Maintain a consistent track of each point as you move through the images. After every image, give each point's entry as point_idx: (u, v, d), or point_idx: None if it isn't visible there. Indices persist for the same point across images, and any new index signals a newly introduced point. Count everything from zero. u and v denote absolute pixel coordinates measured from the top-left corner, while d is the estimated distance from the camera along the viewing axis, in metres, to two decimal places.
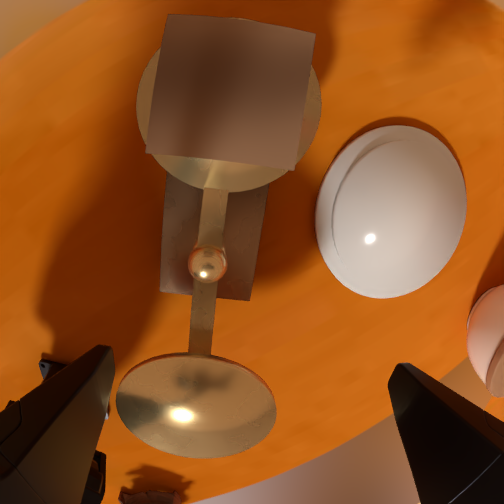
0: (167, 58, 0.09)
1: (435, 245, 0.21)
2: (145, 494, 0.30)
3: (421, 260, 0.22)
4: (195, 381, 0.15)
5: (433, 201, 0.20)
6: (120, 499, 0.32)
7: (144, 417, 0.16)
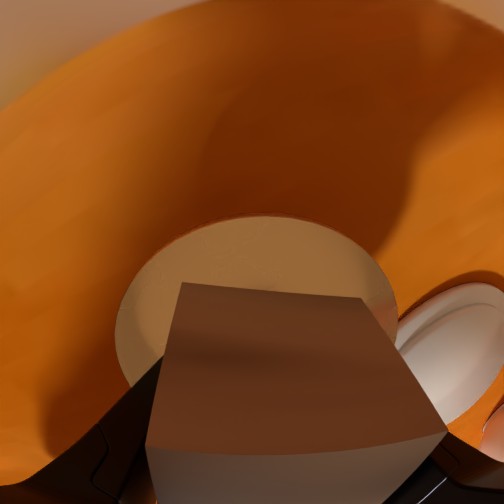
0: (171, 494, 0.04)
1: (470, 394, 0.17)
2: None
3: (453, 409, 0.17)
4: None
5: (480, 360, 0.15)
6: None
7: None
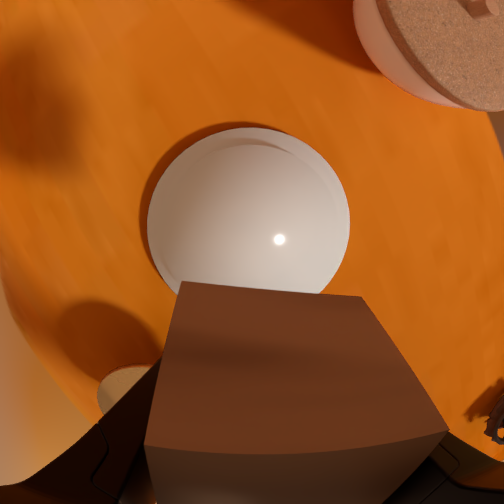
0: (170, 494, 0.04)
1: (285, 187, 0.18)
2: (490, 419, 0.30)
3: (304, 206, 0.19)
4: None
5: (227, 201, 0.18)
6: None
7: None
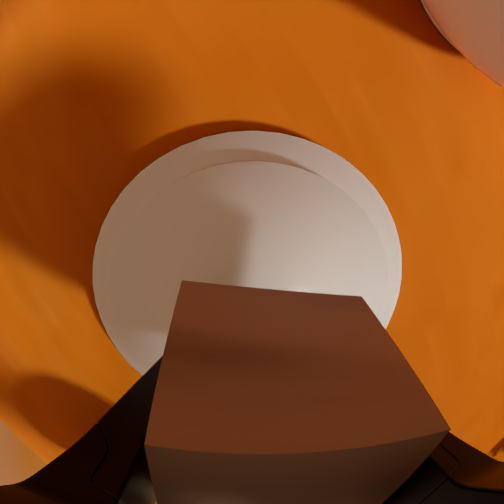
0: (171, 494, 0.04)
1: (309, 233, 0.11)
2: None
3: (338, 262, 0.11)
4: None
5: (212, 259, 0.11)
6: None
7: None
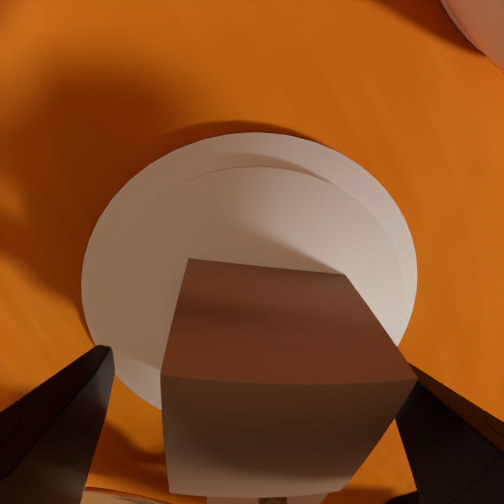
0: (177, 433, 0.06)
1: (320, 248, 0.10)
2: None
3: (351, 279, 0.10)
4: None
5: None
6: None
7: None
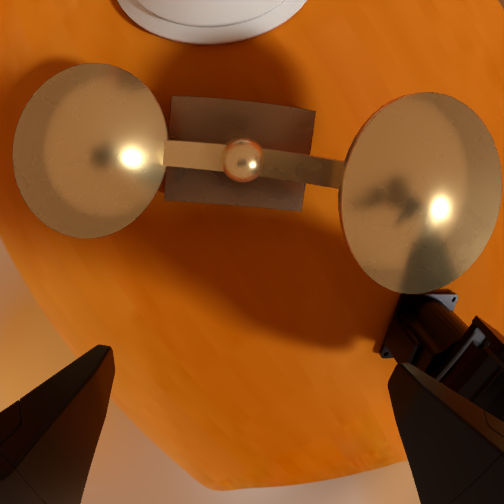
0: None
1: None
2: None
3: None
4: (378, 189, 0.11)
5: None
6: None
7: (430, 262, 0.13)
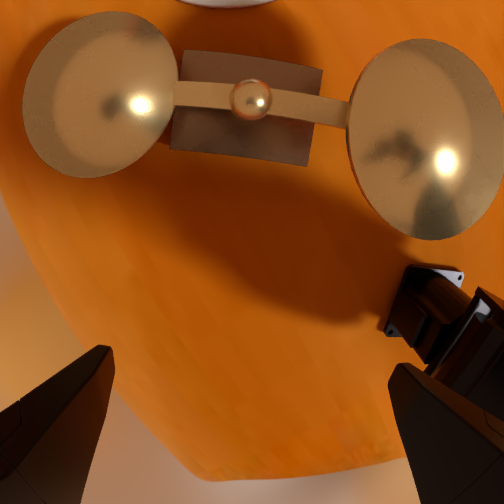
0: None
1: None
2: None
3: None
4: (385, 122, 0.11)
5: None
6: None
7: (439, 206, 0.12)
